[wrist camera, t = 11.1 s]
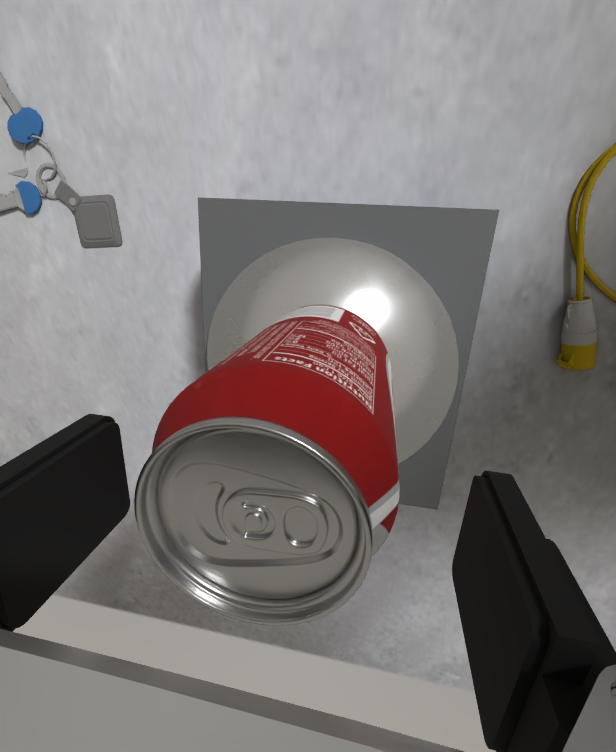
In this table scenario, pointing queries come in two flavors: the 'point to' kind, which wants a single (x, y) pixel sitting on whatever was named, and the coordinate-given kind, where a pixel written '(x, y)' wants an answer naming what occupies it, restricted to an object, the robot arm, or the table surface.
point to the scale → (384, 230)
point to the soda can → (277, 471)
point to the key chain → (90, 211)
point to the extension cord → (580, 312)
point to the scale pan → (368, 300)
